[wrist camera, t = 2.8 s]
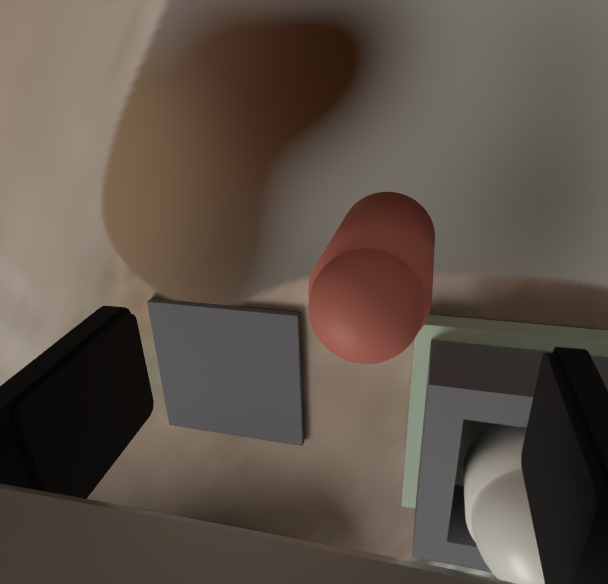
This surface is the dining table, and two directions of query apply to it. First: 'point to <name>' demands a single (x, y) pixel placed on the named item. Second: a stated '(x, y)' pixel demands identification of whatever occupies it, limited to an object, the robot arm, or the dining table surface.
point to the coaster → (230, 368)
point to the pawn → (374, 279)
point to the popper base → (470, 414)
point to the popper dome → (501, 505)
